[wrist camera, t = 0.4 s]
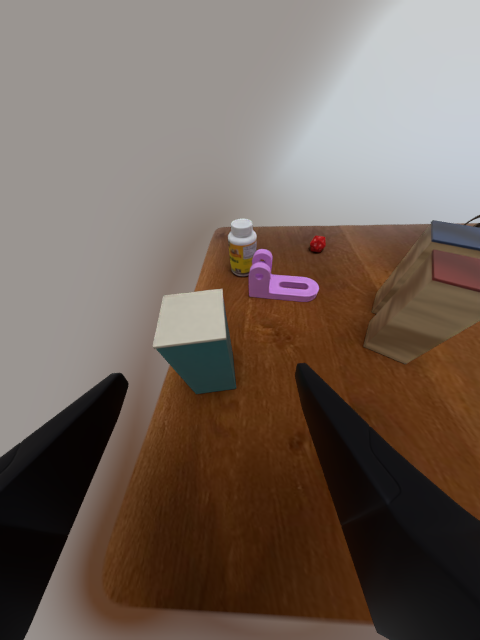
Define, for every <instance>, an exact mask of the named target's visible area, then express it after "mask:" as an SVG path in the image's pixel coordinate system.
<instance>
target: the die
mask: <svg viewBox="0 0 480 640" xmlns="http://www.w3.org/2000/svg"><path fill="white" fill-rule="evenodd" d="M310 246H311V251H314V252H321V251H322V249H323V248H324V247H325V237H321V236H315V237H314V238H313V240H312V241H311V243H310Z"/></svg>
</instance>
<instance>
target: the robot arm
mask: <svg viewBox="0 0 480 640" xmlns="http://www.w3.org/2000/svg"><path fill="white" fill-rule="evenodd" d="M295 379H296V383H297V388H298V392H299V397H300V402H301V406H302V410H303V413H304V416H305V419H306V422H307V425H308V428H309V431H310V434H311V437H312V440H313V443H314V446H315V449H316V452H317V455H318V458H319V461H320V464H321V467H322V470H323V473H324V476H325V479H326V482H327V485H328V488H329V491H330V494H331V497H332V500H333V503H334V506H335V509H336V512H337V515H338V518H339V521H340V524H341V525H342V530H343V533H344V536H345V539H346V542H347V545H348V548H349V551H350V554H351V557H352V560H353V563H354V566H355V569H356V572H357V575H358V578H359V581H360V584H361V587H362V590H363V593H364V596H365V599H366V602H367V605H368V608H369V611H370V614H371V617H372V620H373V623H374V626H375V628H376V631H377V633H379V634H380V635H382V636H384V637H386V638H388V639H389V640H480V521H479V520H478V519H476V518H475V517H474V516H472V515H471V514H470V513H468V512H467V511H466V510H464V509H463V508H462V507H461V506H460V505H458V504H457V503H456V502H455V501H454V500H452V499H451V498H450V497H449V496H448V495H447V494H445V493H444V492H443V491H442V490H441V489H440V488H438V487H437V486H436V485H435V484H434V483H433V482H431V481H430V480H429V479H428V478H427V477H426V476H424V475H423V474H422V473H421V472H420V471H419V470H417V469H416V468H415V467H414V466H413V465H412V464H410V463H409V462H408V461H407V460H406V459H405V458H404V457H403V456H401V455H400V454H399V453H398V452H397V451H396V450H395V449H394V448H392V447H391V446H390V445H389V444H388V443H387V442H386V441H385V440H384V439H383V438H382V437H381V436H380V435H379V434H378V433H377V432H376V431H375V430H374V429H373V428H372V427H369V425H368V424H367V423H366V422H365V421H364V420H363V419H362V418H361V417H360V416H359V415H358V414H357V413H356V412H355V411H354V410H353V409H352V408H351V407H350V406H349V405H348V404H347V403H346V402H345V401H344V400H343V399H342V398H341V397H340V396H339V395H338V394H337V393H336V392H335V391H334V390H333V389H332V388H331V387H330V386H329V385H328V384H327V383H326V382H325V381H324V380H323V379H322V378H320V377H319V376H318V375H317V374H316V373H315V372H314V371H313V370H312V369H311V368H310V367H309V366H308V365H307V364H306V363H298V364H297V367H296V372H295ZM127 389H128V381H127V380H126V378H125V377H124V376H123V374H122V373H112V374H110V375H109V376H108V377H107V378H105V379H104V380H102V381H101V382H100V383H99V384H97V385H96V386H94V387H93V388H92V389H90V390H89V391H88V392H86V393H85V394H84V395H83V396H81V397H80V398H79V399H77V400H76V401H75V402H73V403H72V404H71V405H69V406H68V407H67V408H65V409H64V410H63V411H61V412H60V413H59V414H57V415H56V416H55V417H53V418H52V419H51V420H49V421H48V422H47V423H45V424H44V425H43V426H42V427H40V428H39V429H38V430H36V431H35V432H34V433H32V434H31V435H30V436H28V437H27V438H26V439H24V440H23V441H22V442H21V443H19V444H18V445H16V446H15V447H14V448H12V449H11V450H10V451H8V452H7V453H6V454H4V455H3V456H2V457H0V640H24V638H25V635H26V634H27V632H28V629H29V627H30V625H31V623H32V620H33V618H34V616H35V613H36V611H37V609H38V606H39V604H40V601H41V599H42V596H43V594H44V592H45V589H46V587H47V585H48V583H49V580H50V578H51V576H52V573H53V571H54V568H55V566H56V564H57V561H58V559H59V556H60V554H61V552H62V549H63V547H64V545H65V542H66V540H67V538H68V535H69V532H70V530H71V528H72V526H73V523H74V521H75V518H76V516H77V514H78V511H79V509H80V507H81V504H82V502H83V500H84V497H85V495H86V493H87V490H88V488H89V486H90V483H91V481H92V479H93V476H94V474H95V471H96V469H97V467H98V464H99V462H100V460H101V457H102V455H103V453H104V450H105V448H106V446H107V443H108V441H109V438H110V436H111V434H112V431H113V429H114V427H115V424H116V422H117V419H118V417H119V414H120V411H121V408H122V405H123V402H124V399H125V395H126V392H127Z"/></svg>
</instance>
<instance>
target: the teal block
mask: <svg viewBox="0 0 480 640" xmlns="http://www.w3.org/2000/svg"><path fill="white" fill-rule="evenodd" d="M153 348H154V349H157V351H158V352H159V353H160V354H161V355H162V356H163V357H164V358H165V360H166V361H167V362H168V363H169V364H170V365H171V366H172V367H173V369H174V370H175V371H176V372H177V373H178V374H179V375H180V376H181V378H182V379H183V380H184V381H185V382H186V383H187V384H188V385H189V387H190V388H191V389H192V390H193V391H194V392H195V393H196V394H201V393H208V392H215V391H223V390H230V389H236V381H235V371H234V362H233V352H232V347H231V341H230V335H229V329H228V323H227V318H226V312H225V306H224V300H223V291H222V289H216V290H208V291H199V292H190V293H182V294H173V295H165V296H163V302H162V306H161V310H160V315H159V319H158V324H157V329H156V333H155V338H154V342H153Z"/></svg>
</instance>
